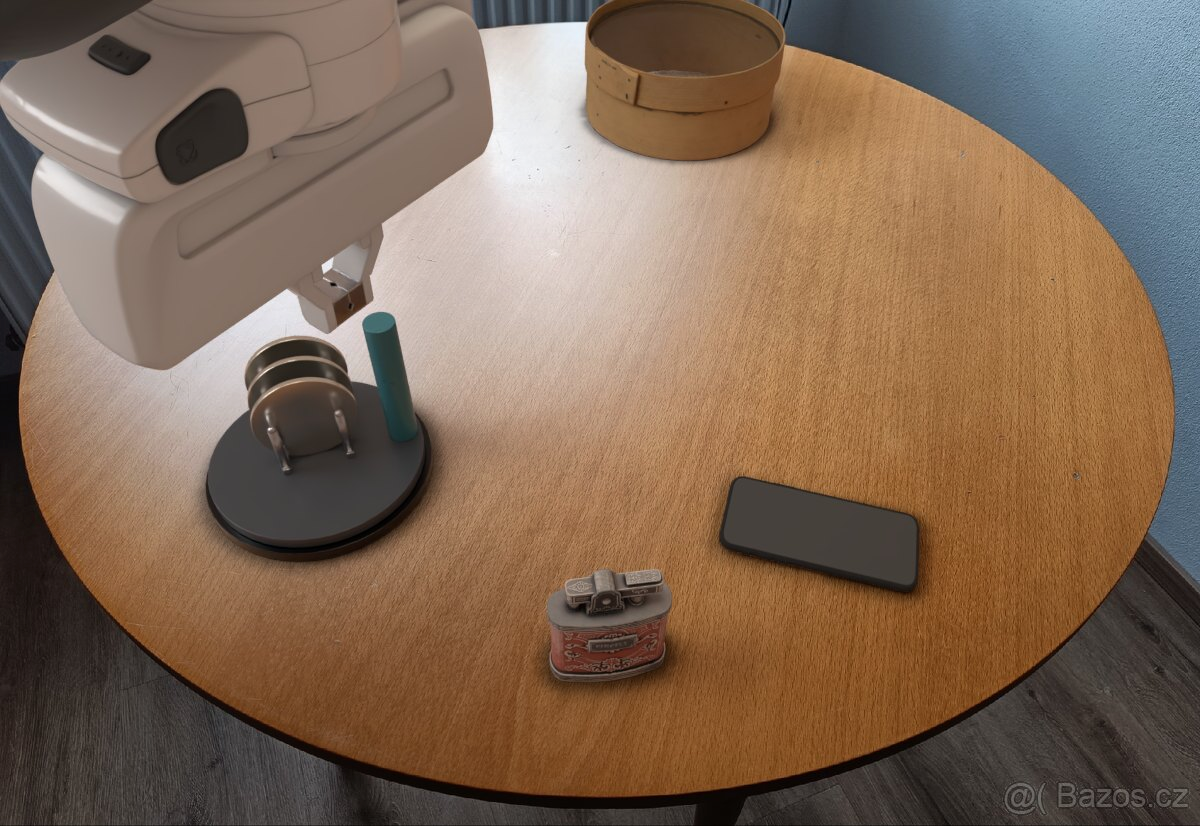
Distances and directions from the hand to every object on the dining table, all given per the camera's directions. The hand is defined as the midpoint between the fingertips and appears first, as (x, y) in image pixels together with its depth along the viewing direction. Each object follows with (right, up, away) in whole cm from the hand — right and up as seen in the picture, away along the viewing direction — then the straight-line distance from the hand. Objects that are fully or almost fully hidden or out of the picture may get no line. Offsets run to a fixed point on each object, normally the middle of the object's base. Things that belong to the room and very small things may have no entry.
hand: (340, 312), depth 41 cm
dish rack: (-11, -9, +29) cm, 32 cm away
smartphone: (+29, -14, +26) cm, 42 cm away
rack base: (-11, -10, +30) cm, 33 cm away
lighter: (+13, -22, +19) cm, 32 cm away
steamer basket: (+23, +35, +73) cm, 84 cm away
